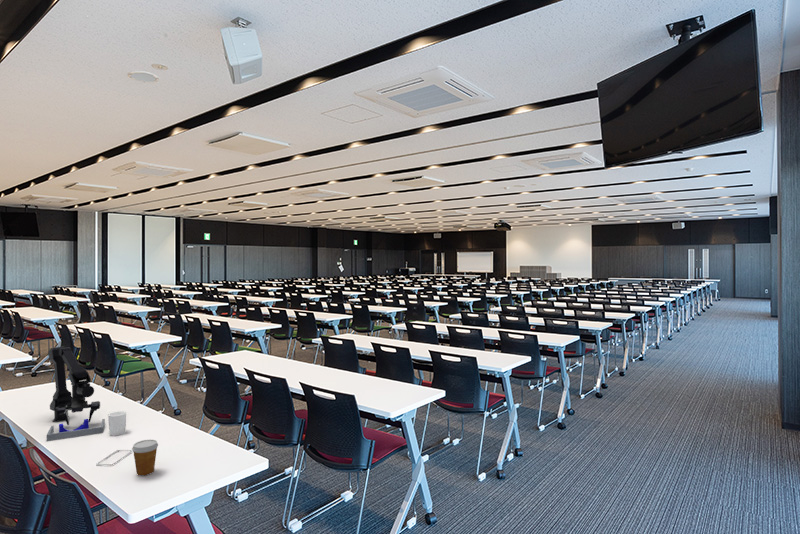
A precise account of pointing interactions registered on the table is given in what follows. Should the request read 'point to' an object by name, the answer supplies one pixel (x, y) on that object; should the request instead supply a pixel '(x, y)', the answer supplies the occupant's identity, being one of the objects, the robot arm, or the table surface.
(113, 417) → the white cup
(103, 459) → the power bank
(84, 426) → the blue v notch block
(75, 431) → the box
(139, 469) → the disposable coffee cup
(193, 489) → the table surface
